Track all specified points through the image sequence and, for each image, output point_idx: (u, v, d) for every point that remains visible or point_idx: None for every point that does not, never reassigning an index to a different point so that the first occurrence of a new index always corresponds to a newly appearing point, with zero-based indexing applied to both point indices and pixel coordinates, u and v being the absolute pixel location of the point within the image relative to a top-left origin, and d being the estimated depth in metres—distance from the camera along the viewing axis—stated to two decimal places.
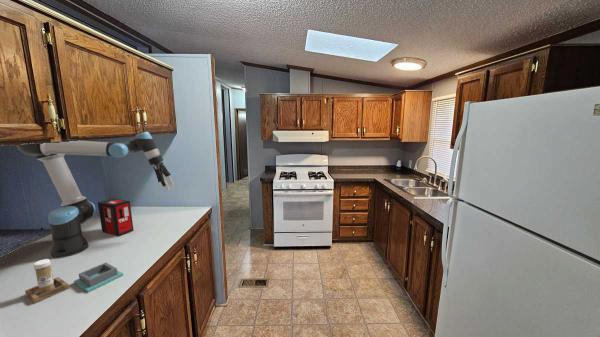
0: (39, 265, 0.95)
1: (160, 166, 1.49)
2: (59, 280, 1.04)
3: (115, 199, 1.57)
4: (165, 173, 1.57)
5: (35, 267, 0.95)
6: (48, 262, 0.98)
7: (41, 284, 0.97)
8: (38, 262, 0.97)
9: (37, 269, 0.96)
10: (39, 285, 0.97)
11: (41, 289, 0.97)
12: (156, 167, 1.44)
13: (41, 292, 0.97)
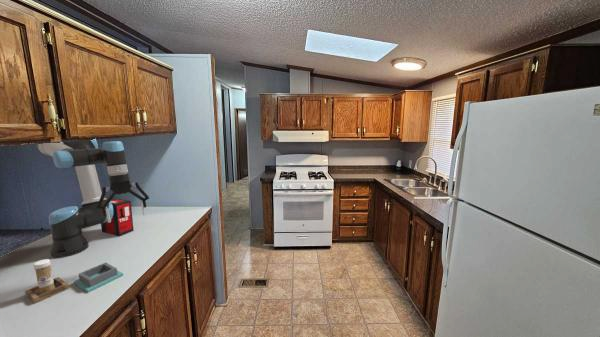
0: (39, 265, 0.95)
1: (115, 189, 1.12)
2: (59, 280, 1.04)
3: (116, 199, 1.57)
4: (137, 197, 1.18)
5: (35, 267, 0.95)
6: (48, 262, 0.98)
7: (41, 284, 0.97)
8: (38, 262, 0.97)
9: (37, 269, 0.96)
10: (39, 285, 0.97)
11: (41, 289, 0.97)
12: None
13: (41, 292, 0.97)
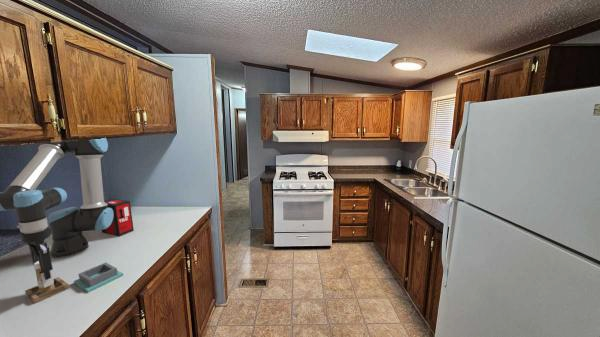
0: (39, 265, 0.95)
1: None
2: (59, 280, 1.04)
3: (114, 199, 1.57)
4: None
5: (35, 267, 0.95)
6: None
7: (41, 284, 0.97)
8: (38, 262, 0.97)
9: (37, 269, 0.96)
10: (39, 285, 0.97)
11: (41, 289, 0.97)
12: None
13: (41, 292, 0.97)
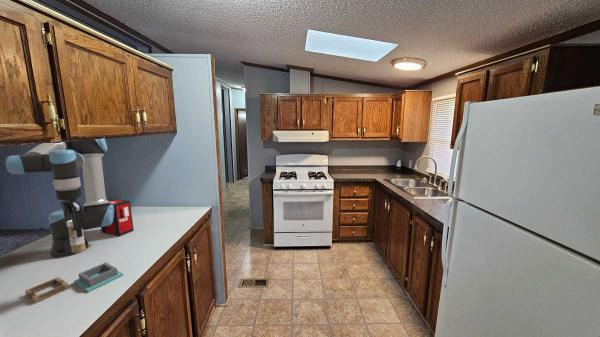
0: (72, 223, 0.98)
1: None
2: (59, 280, 1.04)
3: (114, 199, 1.57)
4: None
5: (68, 225, 0.98)
6: None
7: (73, 242, 0.99)
8: (70, 220, 0.99)
9: (70, 227, 0.98)
10: (71, 243, 0.99)
11: (73, 247, 1.00)
12: None
13: (73, 250, 1.00)
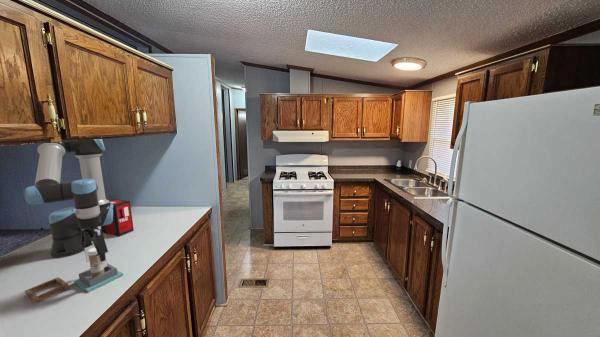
0: (93, 252, 1.03)
1: None
2: (59, 280, 1.04)
3: (114, 199, 1.57)
4: None
5: (89, 254, 1.03)
6: None
7: (94, 270, 1.04)
8: (91, 249, 1.04)
9: (91, 256, 1.03)
10: (92, 271, 1.04)
11: (94, 274, 1.05)
12: None
13: None
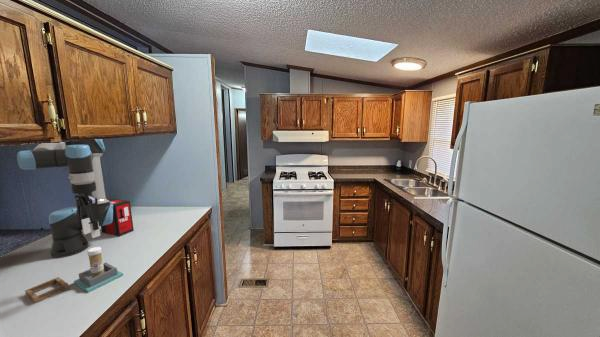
0: (93, 252, 1.03)
1: None
2: (59, 280, 1.04)
3: (114, 199, 1.57)
4: None
5: (89, 254, 1.03)
6: (100, 249, 1.06)
7: (94, 270, 1.04)
8: (91, 249, 1.04)
9: (91, 256, 1.03)
10: (92, 271, 1.04)
11: (94, 274, 1.05)
12: None
13: None
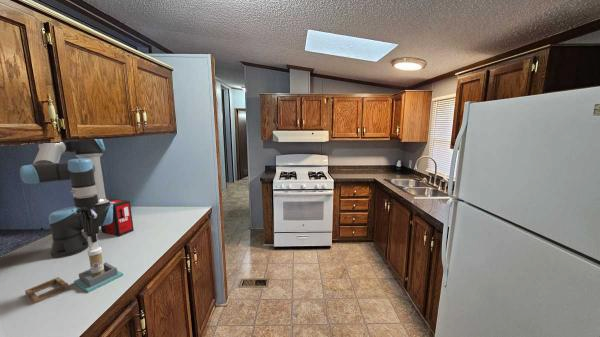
0: (93, 252, 1.03)
1: None
2: (59, 280, 1.04)
3: (114, 199, 1.57)
4: None
5: (89, 254, 1.03)
6: (100, 249, 1.05)
7: (94, 270, 1.04)
8: None
9: (91, 256, 1.03)
10: (92, 271, 1.04)
11: (94, 274, 1.05)
12: None
13: None
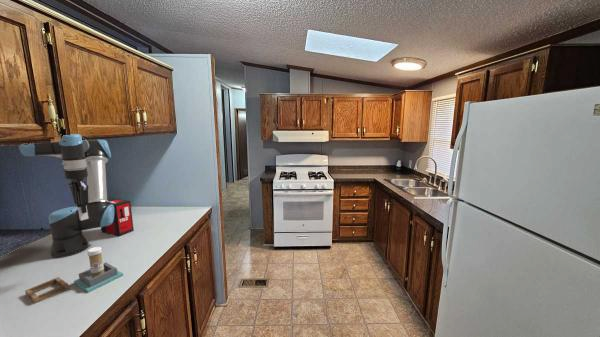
0: (93, 252, 1.03)
1: None
2: (59, 280, 1.04)
3: (115, 199, 1.57)
4: None
5: (89, 254, 1.03)
6: (100, 249, 1.06)
7: (94, 270, 1.04)
8: (91, 249, 1.04)
9: (91, 256, 1.03)
10: (92, 271, 1.04)
11: (94, 274, 1.05)
12: None
13: None
